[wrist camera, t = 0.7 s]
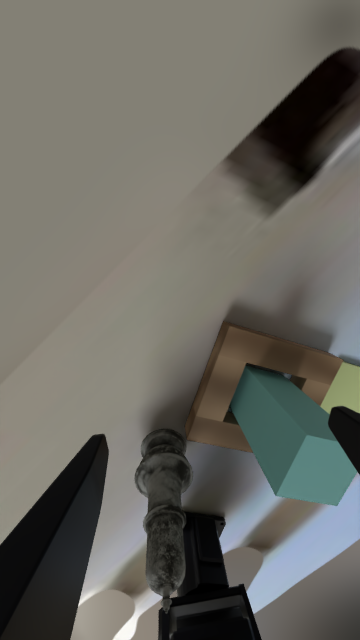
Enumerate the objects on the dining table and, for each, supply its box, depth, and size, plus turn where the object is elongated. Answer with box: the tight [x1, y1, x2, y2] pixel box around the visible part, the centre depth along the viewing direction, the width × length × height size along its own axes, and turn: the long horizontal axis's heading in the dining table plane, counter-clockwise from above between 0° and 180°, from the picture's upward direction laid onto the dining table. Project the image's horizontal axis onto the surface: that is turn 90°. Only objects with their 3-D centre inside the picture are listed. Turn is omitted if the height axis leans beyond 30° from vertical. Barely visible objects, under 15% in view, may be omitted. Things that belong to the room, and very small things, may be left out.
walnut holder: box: [185, 321, 344, 453], centre depth 22 cm, size 13×13×2 cm
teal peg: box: [229, 366, 357, 506], centre depth 19 cm, size 5×5×10 cm
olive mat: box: [320, 362, 360, 414], centre depth 25 cm, size 12×12×1 cm
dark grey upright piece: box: [135, 429, 193, 613], centre depth 18 cm, size 6×6×12 cm
